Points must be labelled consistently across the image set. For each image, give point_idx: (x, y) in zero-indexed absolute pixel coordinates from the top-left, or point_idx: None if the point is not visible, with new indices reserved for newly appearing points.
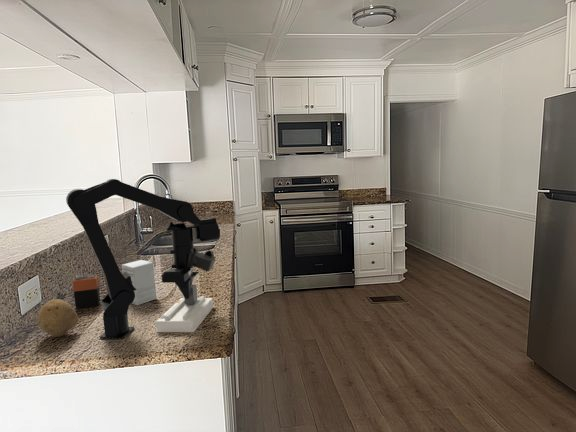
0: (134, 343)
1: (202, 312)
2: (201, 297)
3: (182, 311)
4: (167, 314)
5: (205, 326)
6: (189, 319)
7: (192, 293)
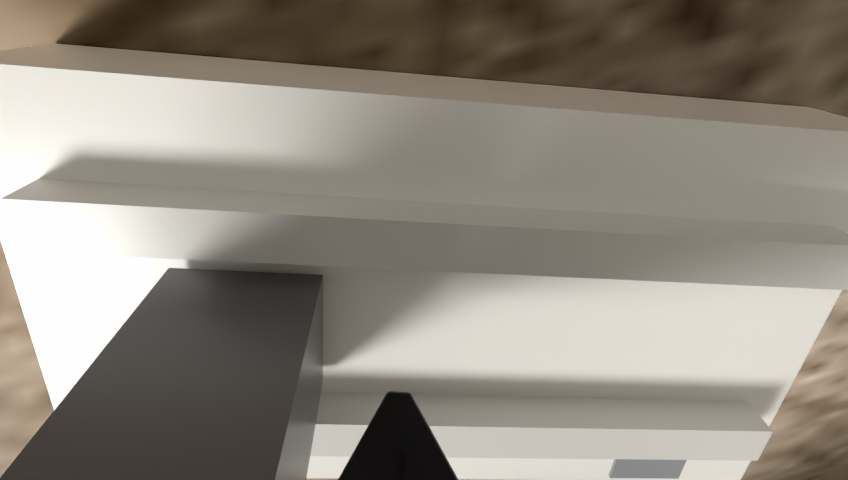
0: (821, 465)
1: (525, 98)
2: (99, 235)
3: (538, 342)
4: (717, 451)
5: (696, 4)
6: (842, 194)
7: (297, 401)
